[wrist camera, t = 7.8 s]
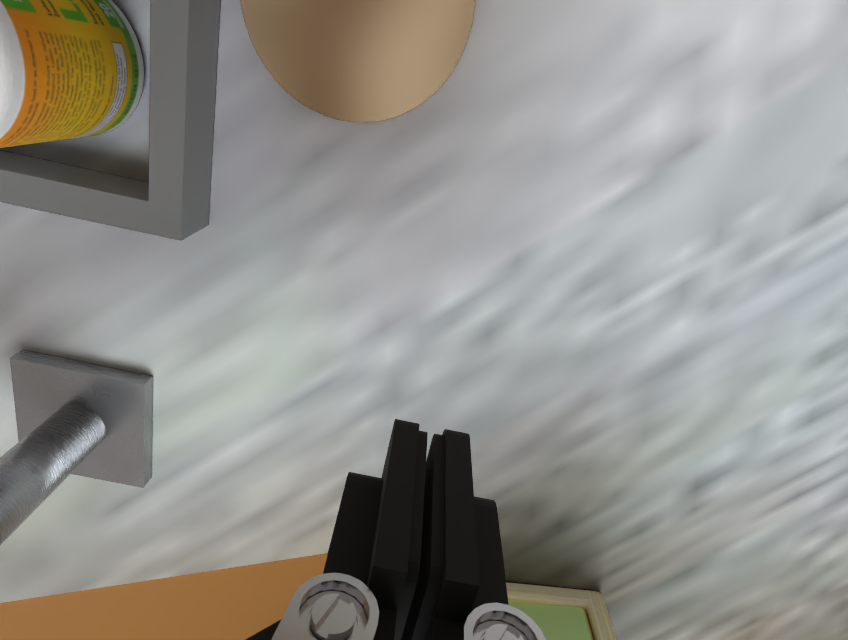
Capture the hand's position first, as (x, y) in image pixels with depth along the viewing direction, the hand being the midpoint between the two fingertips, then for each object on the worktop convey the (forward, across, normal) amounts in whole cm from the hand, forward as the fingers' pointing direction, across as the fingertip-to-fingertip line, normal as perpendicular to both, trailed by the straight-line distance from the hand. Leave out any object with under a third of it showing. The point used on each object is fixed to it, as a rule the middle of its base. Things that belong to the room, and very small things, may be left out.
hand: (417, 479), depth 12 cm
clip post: (+12, +15, +10) cm, 22 cm away
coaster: (+12, +5, -10) cm, 16 cm away
